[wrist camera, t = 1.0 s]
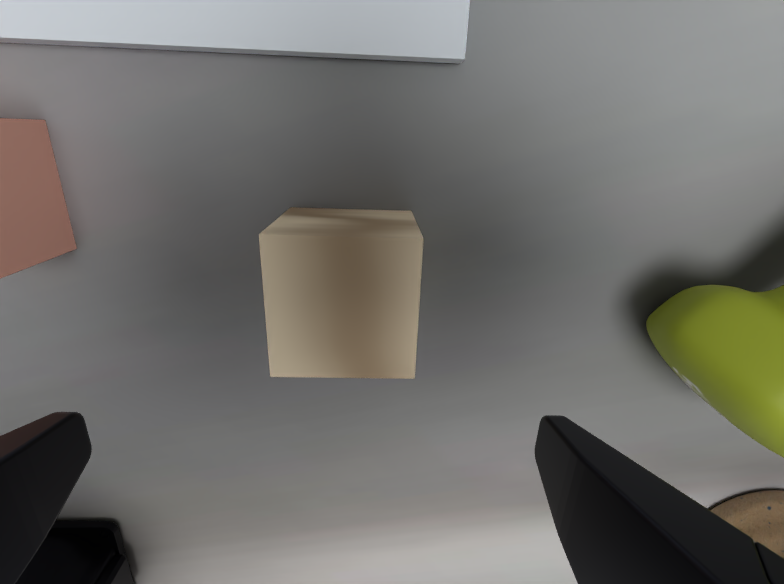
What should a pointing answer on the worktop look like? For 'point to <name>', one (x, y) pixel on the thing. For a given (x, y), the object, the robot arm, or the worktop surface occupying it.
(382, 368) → the maple block
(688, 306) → the dumbbell
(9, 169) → the coral block
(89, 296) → the worktop surface
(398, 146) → the worktop surface
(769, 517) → the candle holder
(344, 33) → the blueprint board
